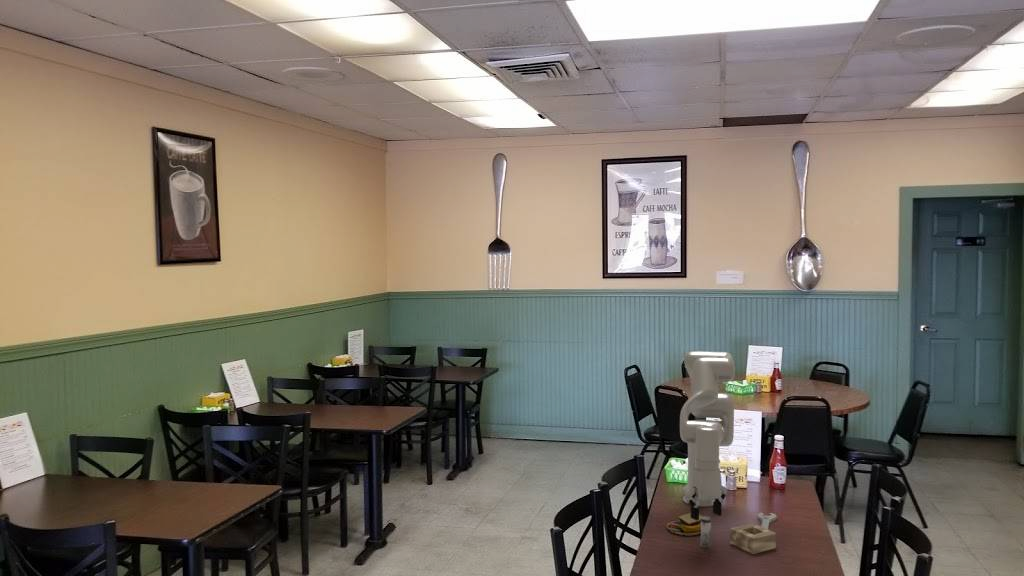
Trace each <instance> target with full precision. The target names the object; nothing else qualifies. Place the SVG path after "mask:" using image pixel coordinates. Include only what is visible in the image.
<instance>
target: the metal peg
mask: <svg viewBox="0 0 1024 576" xmlns="http://www.w3.org/2000/svg"><path fill="white" fill-rule="evenodd" d="M711 534H712V517H710V516H706V515H702V517H701V533H700V548H702V549H710V548H711V545H712V544H711V541H712V539H711V538H712V535H711Z"/></svg>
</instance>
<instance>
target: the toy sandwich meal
mask: <svg viewBox="0 0 1024 576" xmlns="http://www.w3.org/2000/svg"><path fill="white" fill-rule="evenodd" d="M702 516H703V515H701V514H700V513H699V520H695V519H692V518H691V512H689V513H685V514H683V515H679V516H678V520H674V521H670V522H669V523H667V524H666V528H667V530H668V531H669V530H670V531H669V532H671V533H672V534H674V533H675V535H677V534H679V535H678V536H682V535H685V536H684V537H694V536H693V535H695V536H698V534H699V535H701V517H702Z"/></svg>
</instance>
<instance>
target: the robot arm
mask: <svg viewBox="0 0 1024 576" xmlns="http://www.w3.org/2000/svg"><path fill="white" fill-rule="evenodd" d="M683 358H684V359H683V360H684V361H683V363H684V367H685V369H686V371H687V374H688V377H689V380H690V397H689V398H688V399H687V400H686V401H685V403H684V404H683V405H682V408H681V410H680V414H679V435H680V439H681V440H682V442H684V443H687V484H685V485H684V486H683V487H682V489H681V491H683V492H685V494H684V496H683V497H682V499H683V502H684V503H686V504H687V505H689V507H690V513H691V518H692V519H695V520H699V514H700V508H699V507H712V508H713V509H712V512H713V514H714V515H716V516H719V517H720V516H722V512H723V511H722V510H723V509H722V508H723V507H722V506H723V505H722V504H723V503H724V499H725V498H726V494H727V491H728V488H727V487H726V486H723V485H722V484H723V482H722V475H721V474H722V473H721V469H720V463H721V459H720V447H729V446H731V445H732V444H733V442H734V436H735V435H734V433H735V431H734V425H735V423H734V422H735V420H734V419H735V405H734V398H733V397H732V395H730V393H729V394H728V393H725V392H719V390H718V389H719V388H718V387H719V386H718V382H733V381H734V379H735V377H736V376H735V375H736V365H735V361H734V358H733V355H732V354H731V353H730V352H727V351H707V350H705V351H704V350H702V351H701V350H693V351H688V352H686V353H685V354H684V357H683ZM690 414H691V415H693V417H697V418H706V419H693V420H692V419H691V420H689V417H690ZM707 418H709V419H707ZM711 419H719V420H711Z"/></svg>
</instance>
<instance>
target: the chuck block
mask: <svg viewBox="0 0 1024 576" xmlns="http://www.w3.org/2000/svg"><path fill="white" fill-rule="evenodd" d="M729 540H730V541H729V542H730V544H731V545H733V546H735V547H737V548H738V549H741V550H743V551H746V552H747V553H750V554H752V555H755V554H759V553H763V552H766V551H770V550H773V549H776V548H777V547H776V546H777V545H776V543H777V533H776V532H774V531H772V530H770V529H768V530H767V529H765V528H763V527H761V525H758V524H755V523H748V524H743V525H740V526H736V527H731V528H730V539H729Z"/></svg>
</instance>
